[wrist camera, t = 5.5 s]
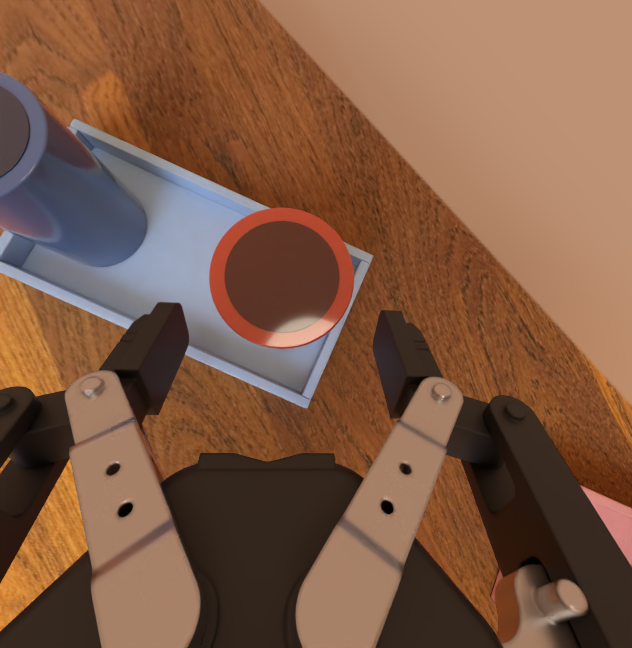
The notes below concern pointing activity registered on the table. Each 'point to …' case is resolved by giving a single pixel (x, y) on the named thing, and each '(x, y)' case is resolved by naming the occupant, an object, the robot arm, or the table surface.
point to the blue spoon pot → (61, 186)
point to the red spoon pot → (281, 278)
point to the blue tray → (174, 269)
